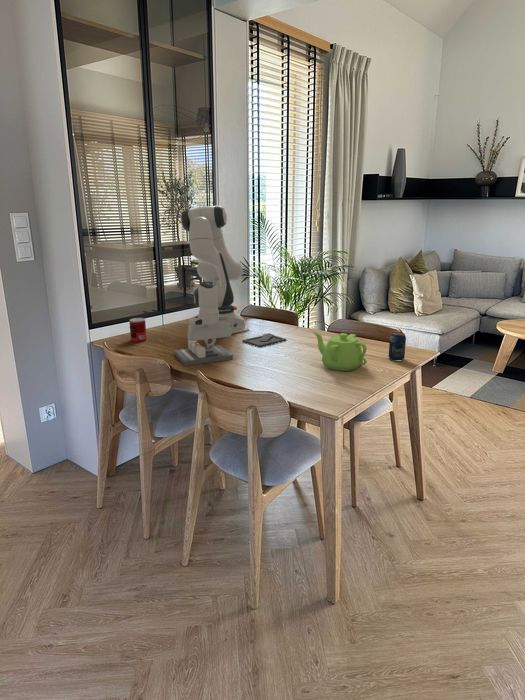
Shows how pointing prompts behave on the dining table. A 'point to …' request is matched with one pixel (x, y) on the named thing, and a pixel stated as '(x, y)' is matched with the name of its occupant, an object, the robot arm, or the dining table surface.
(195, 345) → the breaker mid
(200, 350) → the breaker
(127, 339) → the dining table surface
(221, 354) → the panel
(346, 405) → the dining table surface
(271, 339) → the picture frame
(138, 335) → the canned food
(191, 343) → the block
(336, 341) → the teapot
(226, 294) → the robot arm
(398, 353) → the soda can
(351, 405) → the dining table surface
